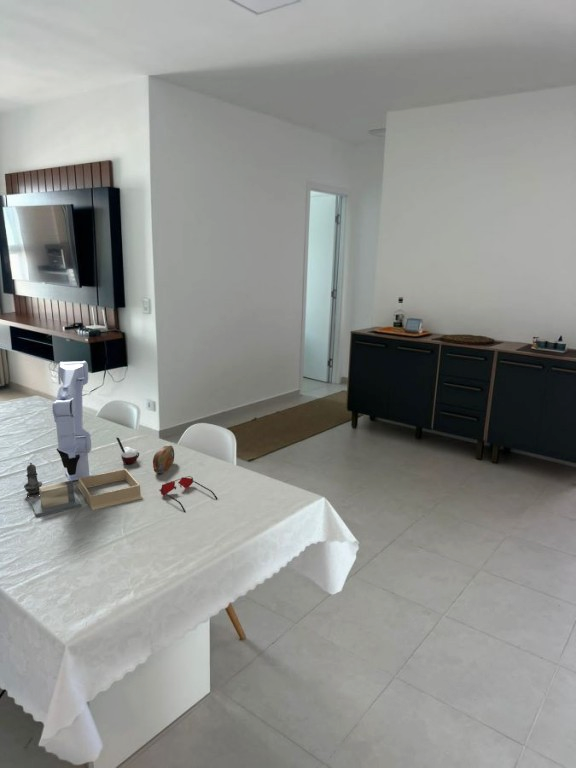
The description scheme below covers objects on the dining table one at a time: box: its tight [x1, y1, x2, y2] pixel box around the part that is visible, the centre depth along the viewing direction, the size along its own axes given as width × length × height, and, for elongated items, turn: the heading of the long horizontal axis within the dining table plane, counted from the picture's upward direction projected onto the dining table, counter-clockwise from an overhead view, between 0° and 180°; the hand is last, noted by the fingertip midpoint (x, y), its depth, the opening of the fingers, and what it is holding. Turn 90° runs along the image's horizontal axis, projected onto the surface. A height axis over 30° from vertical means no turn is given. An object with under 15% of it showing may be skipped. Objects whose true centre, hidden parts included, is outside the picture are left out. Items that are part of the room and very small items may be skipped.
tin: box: [152, 445, 175, 474], centre depth 209 cm, size 15×3×8 cm, turn 168°
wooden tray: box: [77, 468, 144, 511], centre depth 189 cm, size 22×17×4 cm
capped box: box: [39, 480, 75, 508], centre depth 178 cm, size 4×10×6 cm, turn 123°
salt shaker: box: [23, 462, 43, 498], centre depth 185 cm, size 6×6×12 cm
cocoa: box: [116, 437, 140, 466], centre depth 214 cm, size 10×6×12 cm, turn 117°
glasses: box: [159, 475, 219, 513], centre depth 185 cm, size 14×16×5 cm
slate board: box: [30, 491, 82, 517], centre depth 179 cm, size 10×14×1 cm
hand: (69, 470), depth 184 cm, fingers open, 7 cm apart
